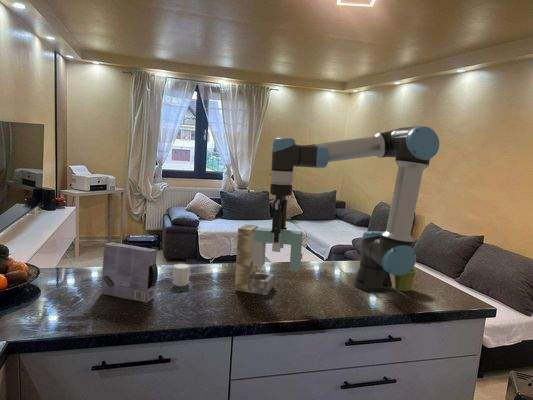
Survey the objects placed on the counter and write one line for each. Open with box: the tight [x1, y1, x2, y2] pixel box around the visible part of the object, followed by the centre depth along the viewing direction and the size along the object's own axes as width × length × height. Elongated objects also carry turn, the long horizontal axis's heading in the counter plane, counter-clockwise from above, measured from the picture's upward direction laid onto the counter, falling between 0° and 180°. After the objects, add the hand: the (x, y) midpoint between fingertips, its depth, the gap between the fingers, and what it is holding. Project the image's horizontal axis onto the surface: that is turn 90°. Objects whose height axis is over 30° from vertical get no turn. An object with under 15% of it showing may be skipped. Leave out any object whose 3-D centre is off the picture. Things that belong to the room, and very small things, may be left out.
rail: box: [253, 226, 304, 272], centre depth 136 cm, size 16×5×13 cm, turn 76°
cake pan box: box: [100, 241, 159, 304], centre depth 132 cm, size 19×5×18 cm, turn 74°
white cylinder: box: [171, 263, 191, 287], centre depth 149 cm, size 7×7×7 cm
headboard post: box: [234, 224, 274, 296], centre depth 147 cm, size 12×10×24 cm
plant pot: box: [394, 267, 418, 292], centre depth 159 cm, size 9×9×9 cm
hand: (277, 249), depth 136 cm, fingers closed on rail, 5 cm apart
